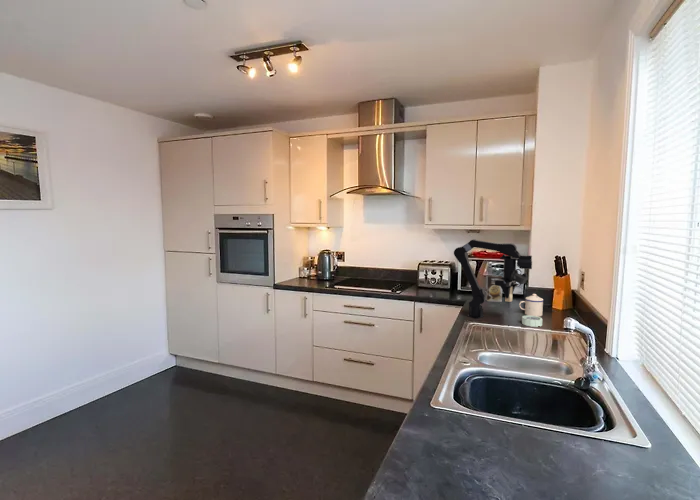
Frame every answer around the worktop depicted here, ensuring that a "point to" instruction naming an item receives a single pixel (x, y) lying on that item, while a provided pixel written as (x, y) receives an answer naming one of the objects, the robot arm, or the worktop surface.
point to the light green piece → (532, 321)
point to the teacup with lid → (533, 305)
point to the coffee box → (493, 289)
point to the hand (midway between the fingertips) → (508, 297)
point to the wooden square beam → (509, 295)
